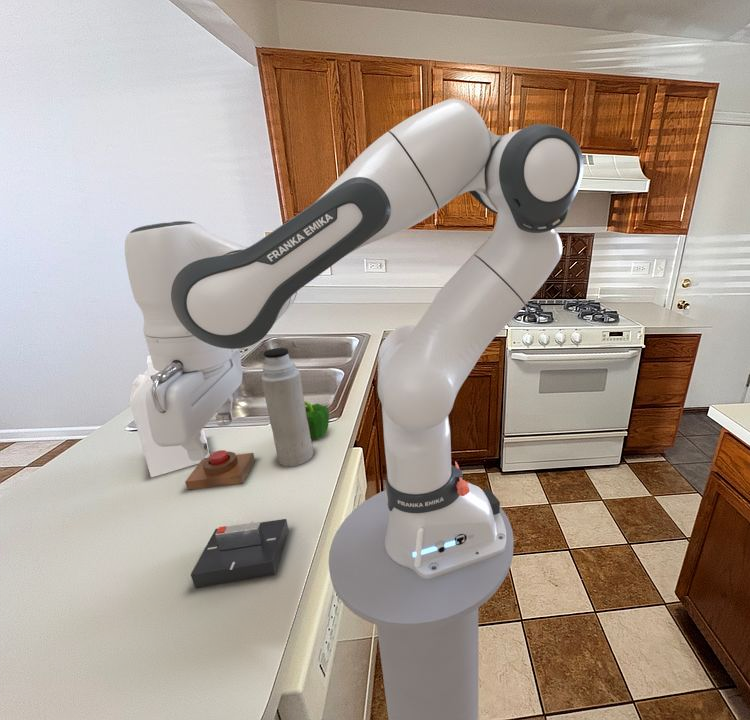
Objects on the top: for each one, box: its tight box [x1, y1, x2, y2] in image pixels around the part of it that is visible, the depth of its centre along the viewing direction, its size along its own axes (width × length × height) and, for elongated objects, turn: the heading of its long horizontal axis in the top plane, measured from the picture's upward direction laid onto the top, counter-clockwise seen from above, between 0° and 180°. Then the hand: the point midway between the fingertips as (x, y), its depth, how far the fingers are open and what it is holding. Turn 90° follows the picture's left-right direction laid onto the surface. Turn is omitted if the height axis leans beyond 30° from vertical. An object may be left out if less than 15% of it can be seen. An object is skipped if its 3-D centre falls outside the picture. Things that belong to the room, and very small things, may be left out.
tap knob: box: [215, 521, 264, 550], centre depth 68 cm, size 6×2×4 cm, turn 102°
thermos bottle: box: [260, 347, 314, 467], centre depth 93 cm, size 8×8×28 cm
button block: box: [184, 451, 256, 491], centre depth 91 cm, size 11×9×4 cm
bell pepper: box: [304, 400, 330, 441], centre depth 106 cm, size 8×8×10 cm
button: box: [209, 449, 229, 465], centre depth 90 cm, size 4×4×2 cm
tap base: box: [190, 518, 290, 589], centre depth 69 cm, size 12×11×3 cm
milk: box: [129, 355, 210, 478], centre depth 94 cm, size 12×12×26 cm
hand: (213, 439), depth 58 cm, fingers open, 8 cm apart
